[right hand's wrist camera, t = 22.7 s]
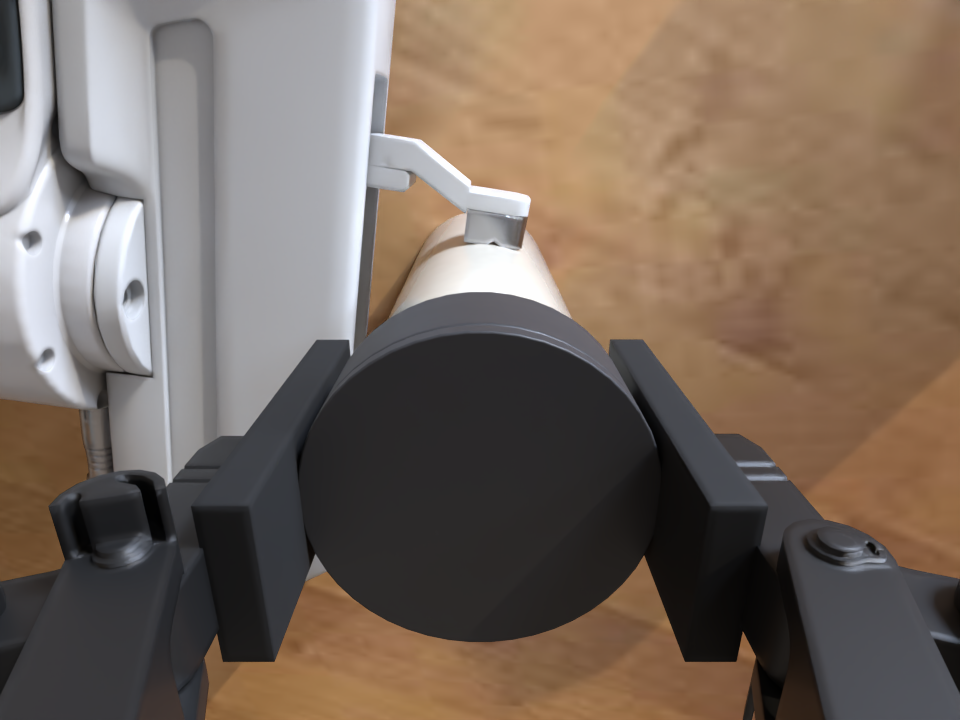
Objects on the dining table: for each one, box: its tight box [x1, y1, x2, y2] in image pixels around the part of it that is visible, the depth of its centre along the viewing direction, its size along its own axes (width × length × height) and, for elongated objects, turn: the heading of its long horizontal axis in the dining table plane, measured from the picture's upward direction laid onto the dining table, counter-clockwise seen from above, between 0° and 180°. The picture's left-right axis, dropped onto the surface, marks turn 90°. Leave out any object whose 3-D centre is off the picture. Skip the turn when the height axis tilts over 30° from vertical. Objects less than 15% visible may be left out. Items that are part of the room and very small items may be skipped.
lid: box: [298, 292, 662, 642], centre depth 11 cm, size 6×6×2 cm
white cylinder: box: [388, 213, 573, 320], centre depth 18 cm, size 5×5×15 cm
